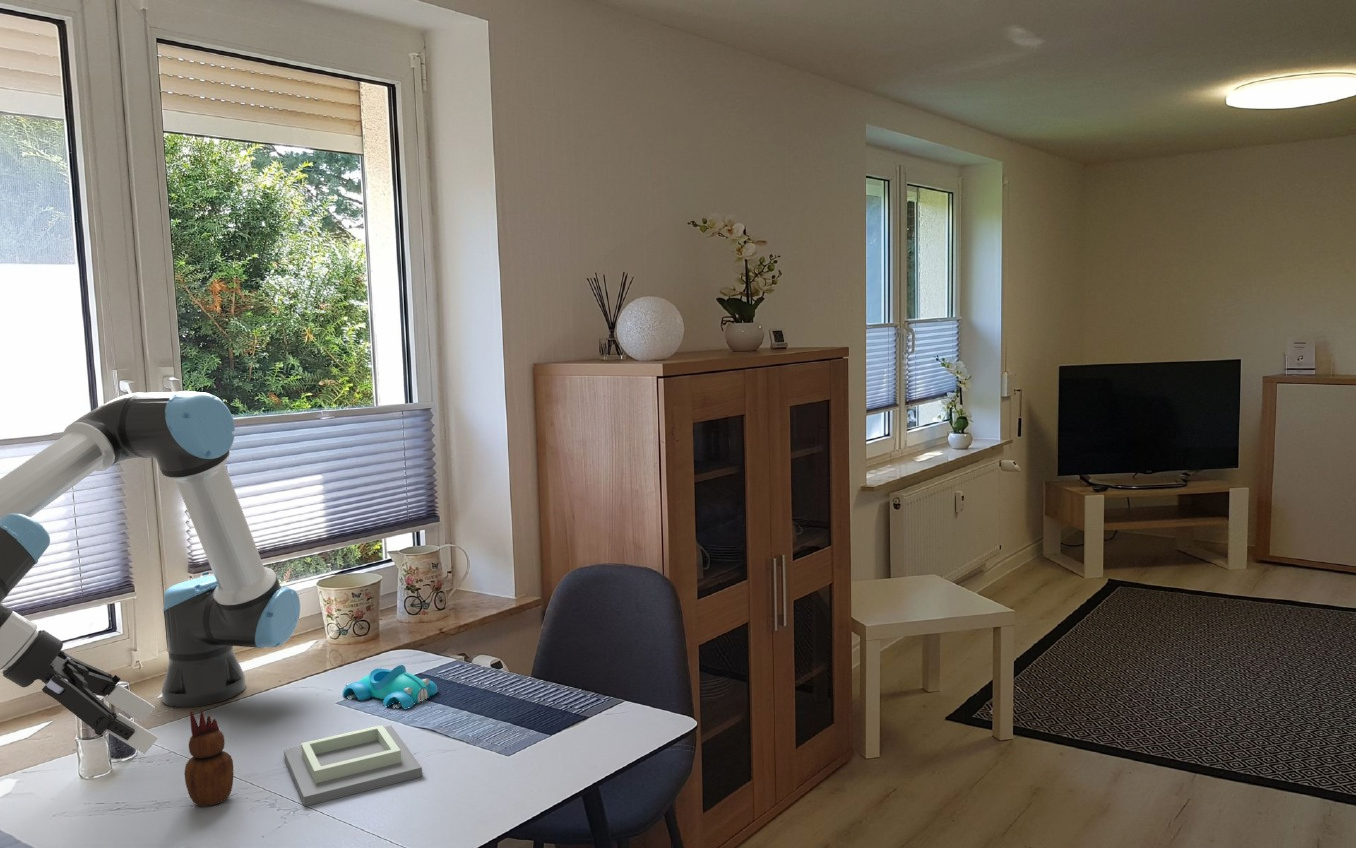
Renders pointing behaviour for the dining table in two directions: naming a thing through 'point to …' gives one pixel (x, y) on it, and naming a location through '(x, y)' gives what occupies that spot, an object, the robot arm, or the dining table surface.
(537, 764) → the dining table surface
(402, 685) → the toy car
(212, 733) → the wooden figurine
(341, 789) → the jig plate
